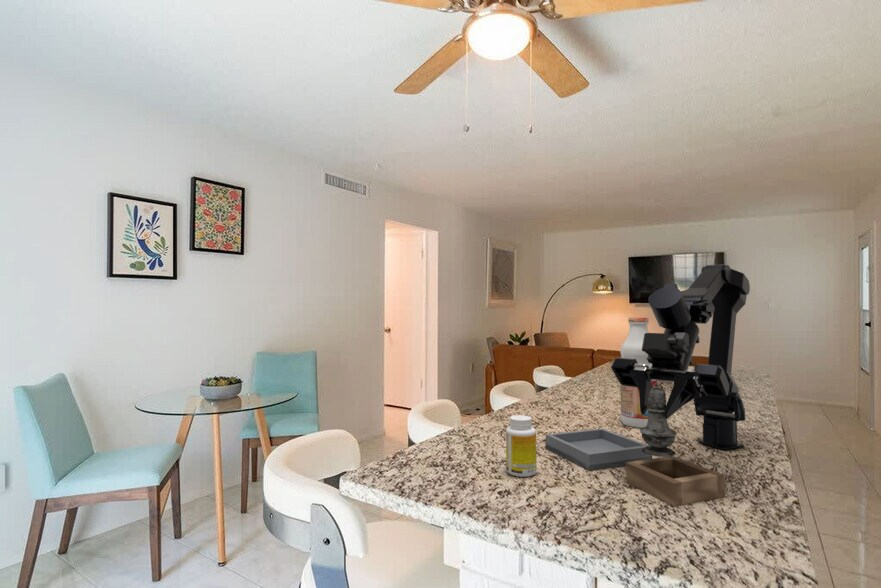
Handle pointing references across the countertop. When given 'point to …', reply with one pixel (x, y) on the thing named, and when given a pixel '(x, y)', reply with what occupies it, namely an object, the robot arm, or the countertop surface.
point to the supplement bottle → (521, 447)
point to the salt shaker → (657, 426)
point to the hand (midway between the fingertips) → (653, 414)
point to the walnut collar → (675, 480)
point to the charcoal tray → (596, 448)
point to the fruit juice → (634, 351)
